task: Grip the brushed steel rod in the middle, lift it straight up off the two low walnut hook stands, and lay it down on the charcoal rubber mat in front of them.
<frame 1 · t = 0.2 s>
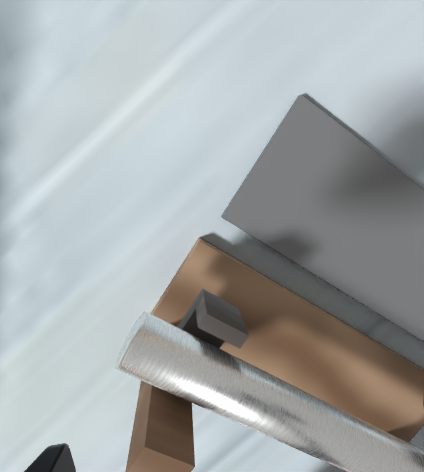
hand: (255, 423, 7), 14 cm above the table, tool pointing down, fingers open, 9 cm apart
rubber mat: (389, 248, 22), on the table
hook stand: (302, 362, 24), on the table
steel rail: (337, 421, 19), point 6 cm above the table, touching hook stand
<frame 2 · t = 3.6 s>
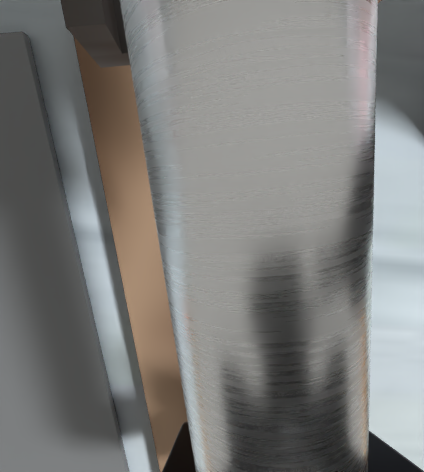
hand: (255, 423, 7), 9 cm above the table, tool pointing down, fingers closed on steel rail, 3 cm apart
hook stand: (216, 283, 16), on the table
steel rail: (259, 444, 7), point 9 cm above the table, touching gripper
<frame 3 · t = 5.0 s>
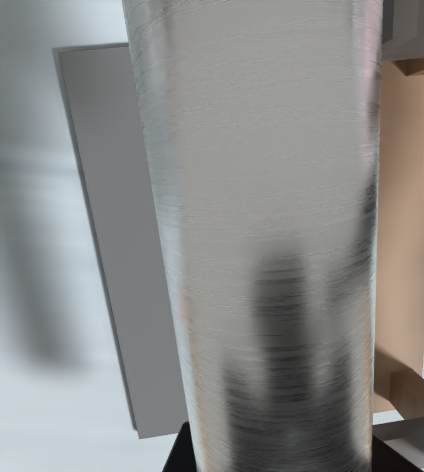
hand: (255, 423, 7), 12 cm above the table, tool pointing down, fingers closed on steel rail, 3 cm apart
rubber mat: (181, 265, 19), on the table
hook stand: (353, 243, 19), on the table
steel rail: (261, 447, 7), point 12 cm above the table, touching gripper
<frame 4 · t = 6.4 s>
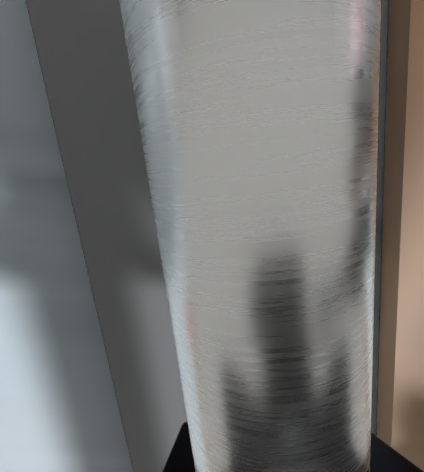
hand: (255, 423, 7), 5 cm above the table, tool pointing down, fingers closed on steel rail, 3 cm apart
rubber mat: (224, 325, 12), on the table
steel rail: (260, 447, 7), point 5 cm above the table, touching gripper
when the fingers open (2 cm above the table, at t = 7.6 s): steel rail drops 2 cm, resting on rubber mat.
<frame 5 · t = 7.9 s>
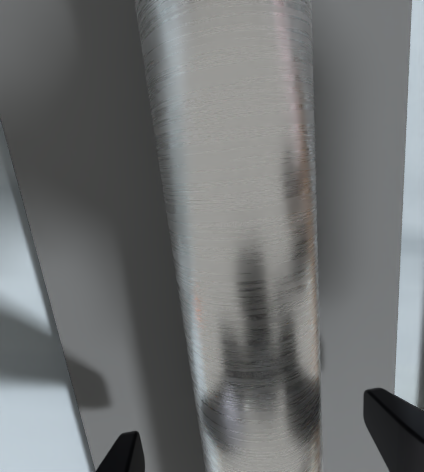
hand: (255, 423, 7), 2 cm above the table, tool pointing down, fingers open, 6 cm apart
rubber mat: (241, 378, 9), on the table
steel rail: (245, 391, 9), resting on rubber mat
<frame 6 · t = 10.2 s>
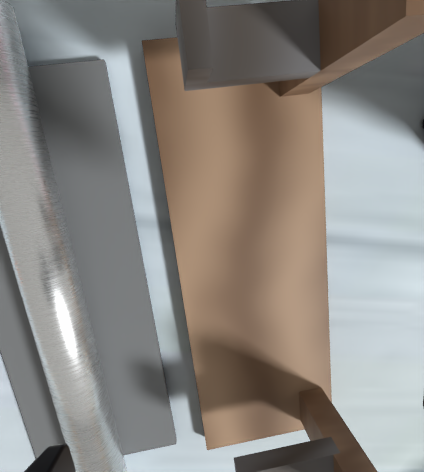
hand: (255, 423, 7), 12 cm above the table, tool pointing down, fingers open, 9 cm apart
rubber mat: (70, 291, 18), on the table
hook stand: (250, 262, 19), on the table
steel rail: (68, 295, 18), resting on rubber mat
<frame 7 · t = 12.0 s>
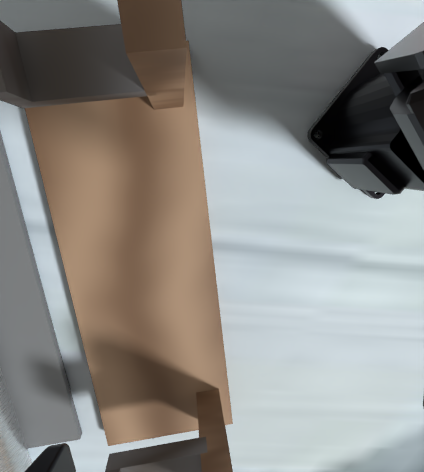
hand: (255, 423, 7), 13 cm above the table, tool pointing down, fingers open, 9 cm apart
hook stand: (144, 267, 20), on the table
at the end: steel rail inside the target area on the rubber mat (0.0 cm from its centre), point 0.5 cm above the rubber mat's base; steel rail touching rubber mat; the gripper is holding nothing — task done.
